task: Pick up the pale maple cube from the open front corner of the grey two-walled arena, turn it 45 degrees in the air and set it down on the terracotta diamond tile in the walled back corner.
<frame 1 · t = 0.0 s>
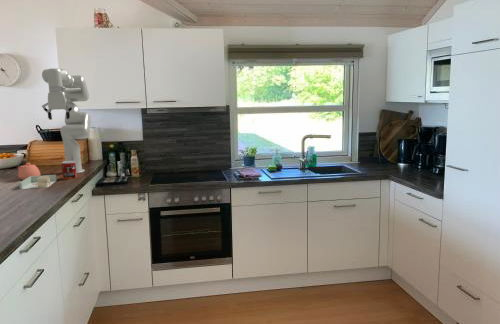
hand: (59, 119, 245), 37 cm above the countertop, tool pointing down, fingers open, 9 cm apart
cube: (44, 186, 231), point 1 cm above the countertop, touching arena
canned food: (70, 179, 252), on the countertop
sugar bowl: (28, 179, 256), on the countertop
arena: (39, 185, 235), on the countertop
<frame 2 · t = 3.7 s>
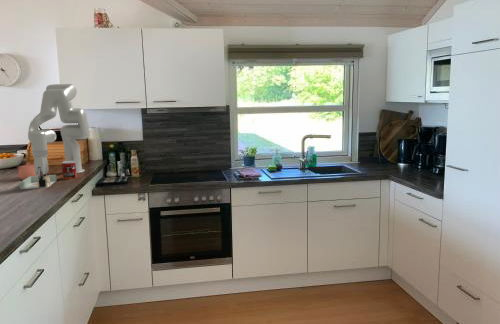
hand: (44, 185, 231), 1 cm above the countertop, tool pointing down, fingers closed on cube, 5 cm apart
cube: (44, 186, 231), point 1 cm above the countertop, touching arena, gripper
everything else where it was.
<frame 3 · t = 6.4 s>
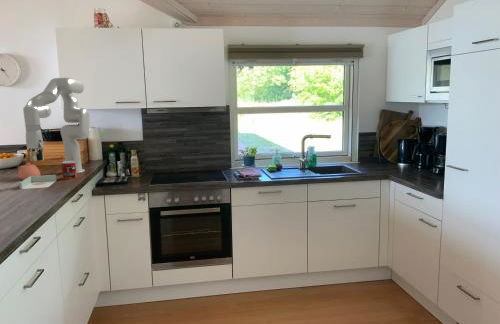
hand: (37, 159, 235), 15 cm above the countertop, tool pointing down, fingers closed on cube, 5 cm apart
cube: (37, 160, 235), point 15 cm above the countertop, touching gripper
everything else where it was.
when the fingers open (3 cm above the countertop, at t = 9.3 s): cube drops 1 cm, resting on arena.
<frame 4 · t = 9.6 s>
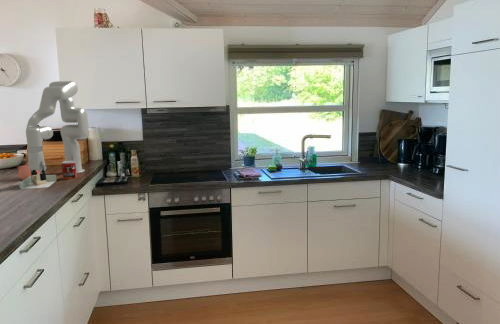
hand: (39, 179, 237), 3 cm above the countertop, tool pointing down, fingers open, 8 cm apart
cube: (39, 183, 237), point 1 cm above the countertop, touching arena
everything else where it was.
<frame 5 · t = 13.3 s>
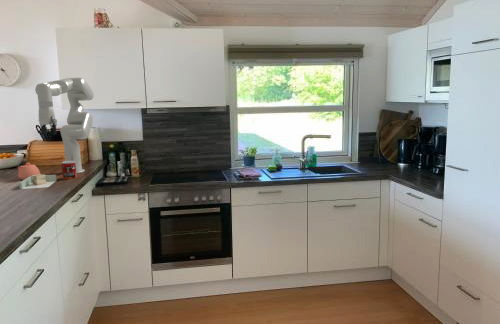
hand: (49, 134, 243), 28 cm above the countertop, tool pointing down, fingers open, 9 cm apart
nothing on the countertop moved.
at the end: cube 0.1 cm from the target spot, point 0.9 cm above the countertop; cube tilted 0°; the gripper is holding nothing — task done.
